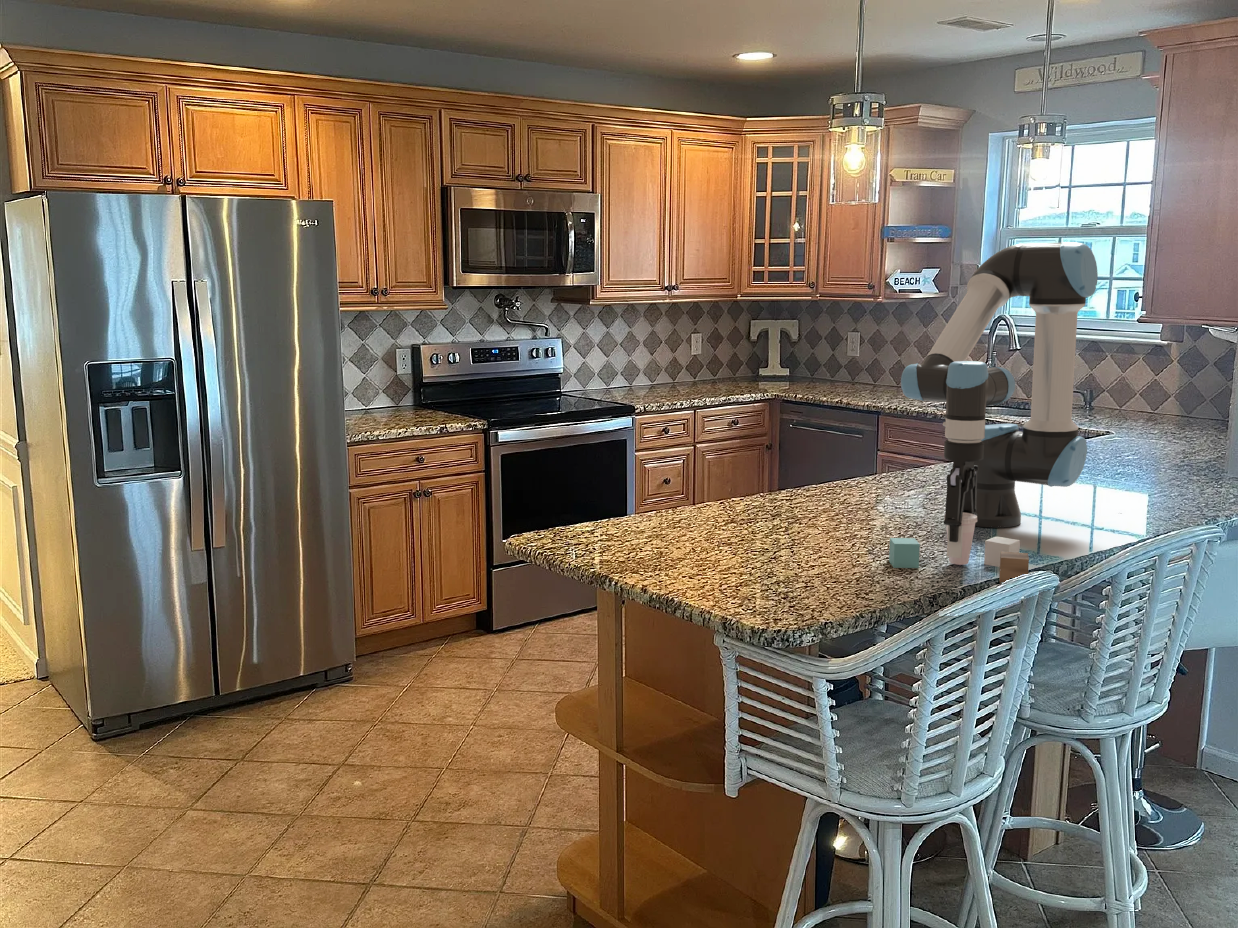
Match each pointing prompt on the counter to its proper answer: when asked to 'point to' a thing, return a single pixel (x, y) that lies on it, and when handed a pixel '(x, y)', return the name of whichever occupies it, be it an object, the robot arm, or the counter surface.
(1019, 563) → the cube walnut
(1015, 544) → the cube grey
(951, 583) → the counter surface
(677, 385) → the counter surface
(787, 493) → the counter surface
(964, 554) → the smoothie
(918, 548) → the cube teal
